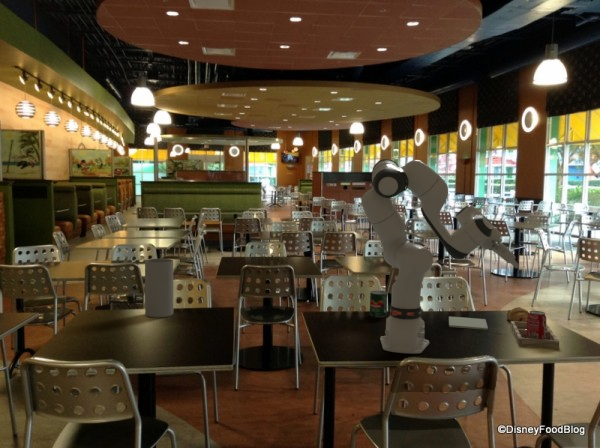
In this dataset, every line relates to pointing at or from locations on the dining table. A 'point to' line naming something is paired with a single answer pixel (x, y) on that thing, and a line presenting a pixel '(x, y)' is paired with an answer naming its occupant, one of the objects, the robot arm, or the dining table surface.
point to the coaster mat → (468, 323)
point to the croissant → (517, 315)
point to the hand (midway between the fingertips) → (513, 264)
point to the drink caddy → (520, 332)
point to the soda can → (536, 325)
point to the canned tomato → (378, 303)
